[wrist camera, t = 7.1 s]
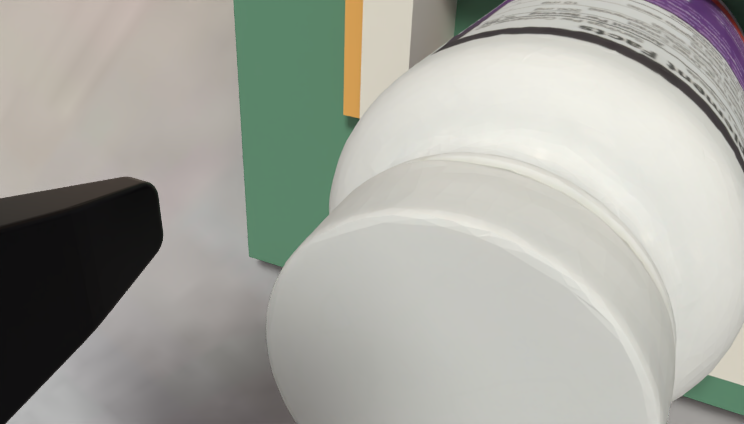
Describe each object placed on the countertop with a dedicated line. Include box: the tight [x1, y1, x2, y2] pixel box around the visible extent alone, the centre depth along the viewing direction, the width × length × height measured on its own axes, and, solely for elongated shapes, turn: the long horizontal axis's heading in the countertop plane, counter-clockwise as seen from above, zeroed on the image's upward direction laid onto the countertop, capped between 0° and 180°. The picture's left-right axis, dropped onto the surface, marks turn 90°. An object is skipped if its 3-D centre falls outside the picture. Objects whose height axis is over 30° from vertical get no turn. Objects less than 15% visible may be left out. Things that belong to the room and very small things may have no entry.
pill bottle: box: [266, 0, 744, 424], centre depth 11 cm, size 5×5×10 cm
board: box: [234, 0, 744, 415], centre depth 14 cm, size 18×14×4 cm
